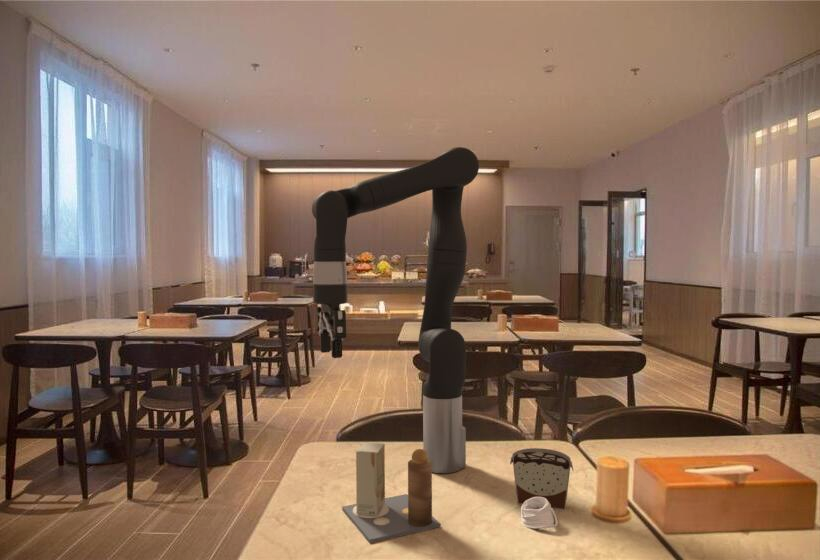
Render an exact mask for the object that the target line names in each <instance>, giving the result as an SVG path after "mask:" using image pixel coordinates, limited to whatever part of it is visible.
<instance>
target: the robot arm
mask: <svg viewBox="0 0 820 560" xmlns="http://www.w3.org/2000/svg"><path fill="white" fill-rule="evenodd" d="M479 171H480V163H479V160H478V157H477V155H476V154H475V153H474V152H473V151H472V150H471V149H468V148H467V147H463V146H458V147H457V146H456V147H452V148H449V149H447V150H445V151H444V152H442V153H440V154H439V155H438V156H437V157H435V158H433V159H430V160H428V161H426V162H423V163H420V164H418V165H417V164H416V165H415V166H412V167H408V168H404V169H400V170H397V171H393V172H388V173H386V174H383V175H382V174H381V175H377V176H374V177H372V178H368V179H364V180H362V181H359V182H356V183H354V184H353V185H351V186H348V187H346V188H340V189H337V190H333V189H332V190H331V189H330V190H326V191H323V192H322V193H320V194H319V195H318V196H317V197H315V199H314V200H313V202H312V205H311V213H312V216H313V217H314V219H315V226H316V227H315V228H316V229H315V232H316V233H315V234H316V235H315V238H314V241H313V270H312V291H313V293H312V294H313V295H312V297H313V298H312V300H313V303H314V304H315V305H320V306H316V332H317V333H318V336H319V343H320V344H319V347H320V349H319V351H320V352H321V353H323V354H325V353H326V354H327V353H331V357H332V358H333V359H341V358H342V357H343V341H344V339H346V338H347V317H346V314H347V311H346V310H345V309H341V307H340V305H344V304H346V303H348V270H347V255H346V254H347V247H346V235H347V227H348V219H349V218H353V217H354V216H357V215H360V214H365V213H370V212H373V211H377V210H380V209H383V208H385V207H389V206H392V205H394V204H397V203H399V202H402V201H405V200H408V199H409V198H411V197H415V196H418V195H420V194H422V193H427V192H430V191H431V192H432V193H431V195H432V201H431V202H432V203H431V204H432V205H431V206H432V208H431V217H430V218H431V219H430V228H429V239H428V248H427V258H426V259H427V260H426V275H425V276H426V279H425V289H424V290H425V291H424V305H423V313H422V318H421V323H420V330H419V334H418V341H417V343H418V344H417V345H418V352H419V354H420V356H421V358H422V359H423V360H425V361H426V362H427V363H429V373H428V379H427V380H426V381H425V382H423V384H422V419H423V420H422V422H423V423H422V427H423V428H422V430H423V431H422V436H423V437H422V442H423V445H422V446H423V448H422V449H423V450H424V451H426V453H427V455H428V460H430V461H431V462H432V473H436V474H450V473H452V474H453V473H456V472H459V471H460V470H461V469H464V468H466V467H467V450H466V444H467V443H466V439H467V437H466V436H467V433H466V430H467V429H466V427H465V426H464V425H463V387H464V385H465V382H466V375H467V374H466V373H467V371H466V370H467V346H466V342H465V341H466V340H465V338H464V336H463V334H461V333H460V332H459V331H457V330H456V329H453V328H452V316H453V315H452V312H453V305H454V302H455V298H456V297H457V294H458V292H459V289H460V288H461V285H462V283H463V280H464V277H465V273H466V267H467V254H468V253H467V252H468V250H467V249H468V242H467V237H466V231H465V227H464V223H463V222H464V221H463V218H462V201H463V193H464V192H463V191H464V188H465V187H466V186H468V185H469V184H471V183H472V182H473V181H474V180H475V178H477V176H478V174H479Z"/></svg>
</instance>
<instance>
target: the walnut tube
mask: <svg viewBox="0 0 820 560" xmlns="http://www.w3.org/2000/svg"><path fill="white" fill-rule="evenodd" d="M432 473H433V472H432V462H431V461H430V460H428V455H427V453H426V451H424V450H423V448H417V449H415V450H414V451H413V452H412V455H411V460H408V462H407V480H408V481H407V492H408V493H407V495H408V522H409V524H411V525H413V526H416V527H424V526H428V525H430V524H431V523H432V516H433V480H432V479H433V475H432Z"/></svg>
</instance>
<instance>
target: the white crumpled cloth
mask: <svg viewBox="0 0 820 560" xmlns="http://www.w3.org/2000/svg"><path fill="white" fill-rule="evenodd" d="M520 522H521V523H522V525H523V526H524V527H526V528H527V529H534V530H535V529H536V530H537V529H538V530H539V529H541V530H542V529H550V528H552V527H553V528H555V527H557V526H558V524H559V523H558V522H559V521H558V517H557V515H556V513H555V511H554V509H552V508H551V505H550V503H549V501H547V499H546V498H544V497H532V498H530V499H528V500H526V501H525V502H524V503H523V505H521V508H520Z"/></svg>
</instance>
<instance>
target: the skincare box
mask: <svg viewBox="0 0 820 560" xmlns="http://www.w3.org/2000/svg"><path fill="white" fill-rule="evenodd" d="M385 445H386V444H385V443H383V442H382V443H380V442H363V444H361V446H359V447H358V449H357V450H356V452H355V454H356V455H355V465H356V466H355V468H356V469H355V470H356V471H355V473H356V476H355V477H356V478H355V479H356V480H355V481H356V482H355V483H356V485H355V487H356V491H355V492H356V498H355V499H356V503H355V504H357V514H360V515H372V516H378V514H379V513H380V512H381V510H382V508H383V506H384V504H385V498H386V492H385V491H386V490H385V489H386V487H385V486H386V485H385V483H386V480H385V479H386V478H385V477H386V476H385V475H386V473H385V470H386V467H385V465H386V464H385V463H386V462H385V461H386V459H385V457H386V455H385V449H386V448H385Z"/></svg>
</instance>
